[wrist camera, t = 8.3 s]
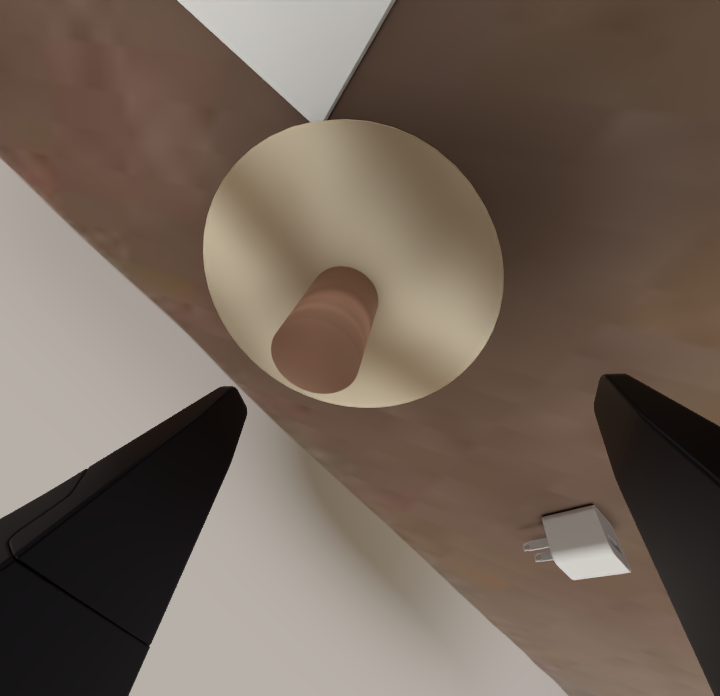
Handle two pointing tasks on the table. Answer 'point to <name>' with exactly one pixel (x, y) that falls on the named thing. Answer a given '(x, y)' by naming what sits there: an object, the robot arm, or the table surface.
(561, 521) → the usb wall charger
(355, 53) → the mat
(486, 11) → the table surface
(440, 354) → the lid
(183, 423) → the robot arm
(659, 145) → the table surface
